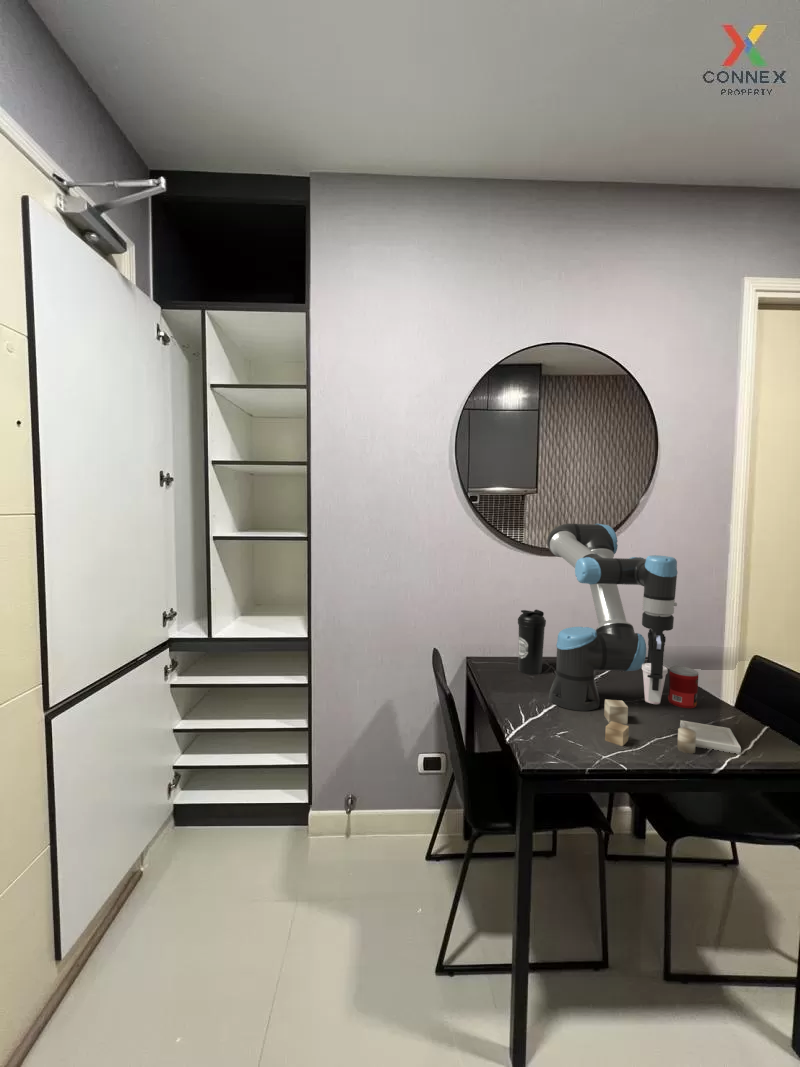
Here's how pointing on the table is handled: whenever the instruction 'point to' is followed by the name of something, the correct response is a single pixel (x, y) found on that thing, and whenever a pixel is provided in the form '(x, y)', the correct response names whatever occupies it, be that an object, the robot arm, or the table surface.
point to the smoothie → (647, 671)
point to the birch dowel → (686, 740)
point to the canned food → (683, 687)
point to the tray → (713, 737)
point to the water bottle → (531, 641)
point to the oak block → (616, 733)
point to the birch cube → (616, 711)
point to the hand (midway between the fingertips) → (652, 696)
